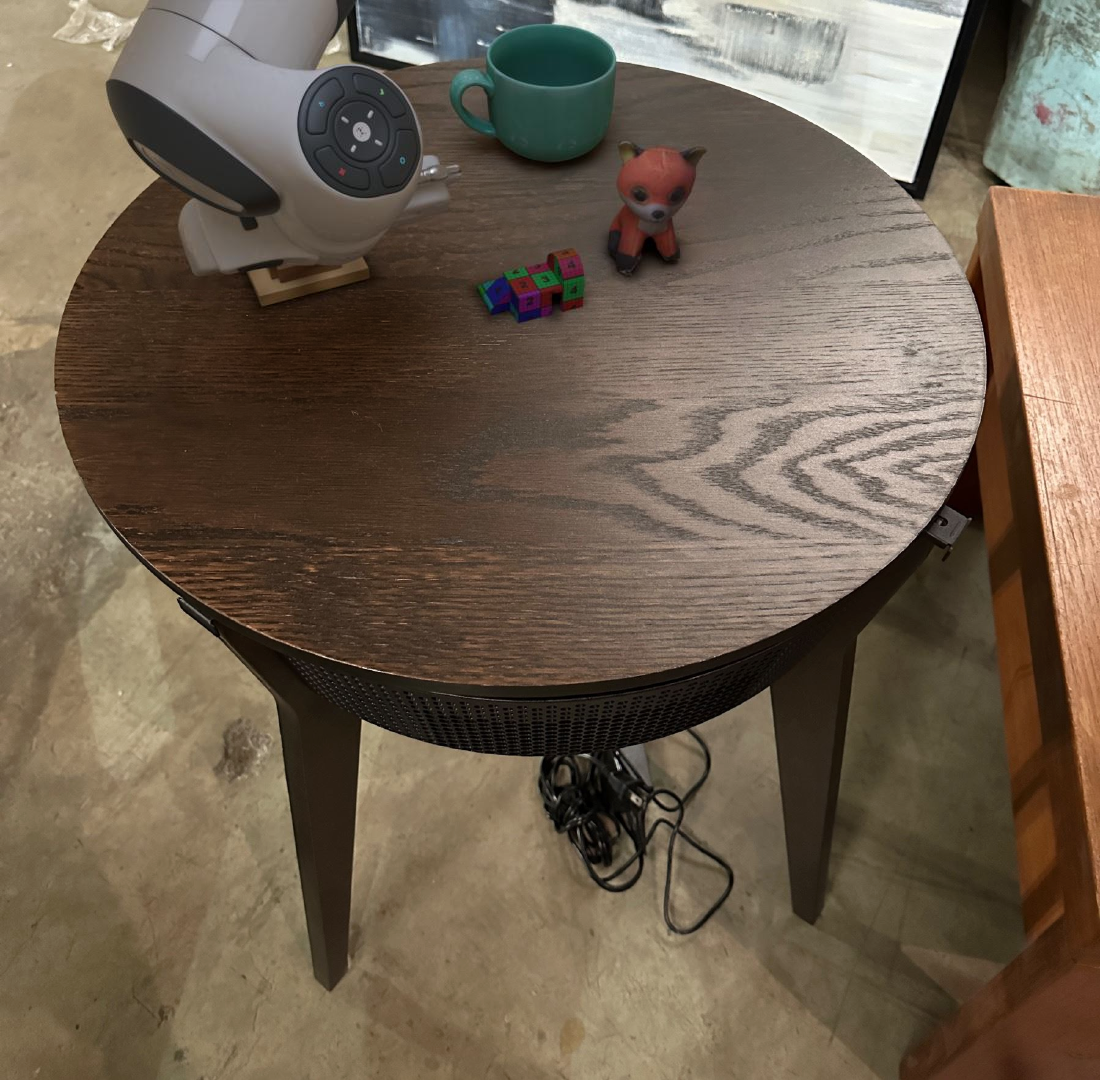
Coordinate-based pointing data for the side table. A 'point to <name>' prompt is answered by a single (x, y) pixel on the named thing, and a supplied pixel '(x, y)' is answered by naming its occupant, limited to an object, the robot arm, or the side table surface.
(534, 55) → the mug
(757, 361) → the side table surface
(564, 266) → the numbered block arch
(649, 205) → the stuffed fox
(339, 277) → the pad base
